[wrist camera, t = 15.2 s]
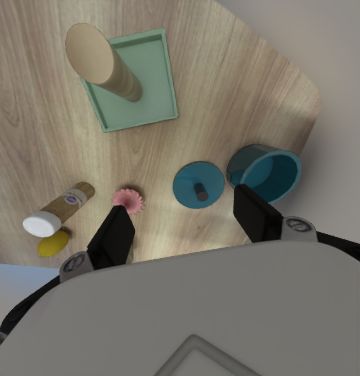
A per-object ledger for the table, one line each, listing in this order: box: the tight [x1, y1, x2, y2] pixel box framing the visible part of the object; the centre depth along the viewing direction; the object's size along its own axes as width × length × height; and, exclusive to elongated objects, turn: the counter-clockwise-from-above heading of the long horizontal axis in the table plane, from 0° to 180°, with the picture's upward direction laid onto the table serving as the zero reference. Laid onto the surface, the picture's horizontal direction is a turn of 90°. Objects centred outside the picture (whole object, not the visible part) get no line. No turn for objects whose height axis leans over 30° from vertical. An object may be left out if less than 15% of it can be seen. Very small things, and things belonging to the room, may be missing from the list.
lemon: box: [37, 231, 69, 257], centre depth 36 cm, size 6×6×8 cm
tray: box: [80, 27, 179, 133], centre depth 23 cm, size 15×12×2 cm
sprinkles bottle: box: [23, 183, 94, 237], centre depth 27 cm, size 5×5×13 cm
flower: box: [111, 188, 145, 215], centre depth 32 cm, size 8×8×6 cm
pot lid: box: [173, 162, 225, 209], centre depth 32 cm, size 14×14×6 cm
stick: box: [65, 23, 143, 102], centre depth 18 cm, size 4×4×14 cm
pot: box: [227, 144, 302, 205], centre depth 30 cm, size 13×13×8 cm
